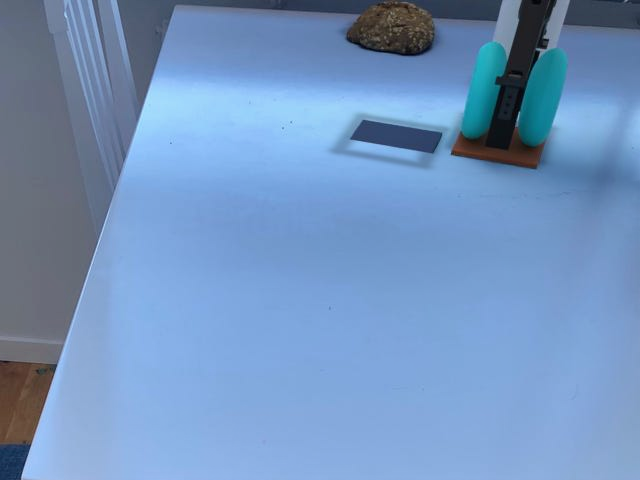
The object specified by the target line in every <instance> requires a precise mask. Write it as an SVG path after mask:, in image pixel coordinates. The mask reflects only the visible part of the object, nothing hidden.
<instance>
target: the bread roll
mask: <svg viewBox="0 0 640 480" xmlns="http://www.w3.org/2000/svg"><path fill="white" fill-rule="evenodd" d="M432 16H433V15H432V14H431V12H429V11H428V10H425V9H423V8H421V7H420V6H418V5H416V4H414V3H411V2H407V1H397V0H387V1H381V2H380V1H379V2H378V3H376V5H375V4H373V5H372V6H370V7H368V8H367V9H366V10H365V11H363V12H362V13H360V15H359V16H358V18H356V20H355V22H353V23H352V25H351V26H350V27H349V28H348V29H347V30H346V33H345V35H346V39H348V40H349V41H350V42H351V43H354V44H360V45H361V46H363V47H365V48H367V49H372V50H374V51H383V52H392V53H396V54H400V55H415V54H419V53H421V52H423V51H425V50H426V49H427V48H428V47H430V46H431V45H433V43H434V41H435V37H436V36H435V35H436V34H435V33H436V31H435V29H436V27H435V23H434V20H433V18H432Z"/></svg>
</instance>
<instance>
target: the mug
mask: <svg viewBox="0 0 640 480" xmlns="http://www.w3.org/2000/svg"><path fill="white" fill-rule="evenodd" d="M521 1H522V0H502V2H501V4H500V8H499V14H498V16H497V21H496V25H495V29H494V33H493V37H492V41H494V42H498V43H500V44H501V45H502V46H503V47H504V49H505V51H506V55H507V61H508V57H509V54H510V50H511V47H512V43H513V40H514V36H515V33H516V29H517V26H518V22H519V19H518V12H519V8H520V4H521ZM570 2H571V0H557V2H556V5H555V7H554V8H553V11H552V14H551V18H550V20H549V22H548V24H547V27H546V30H547V32H546V35H544V38H546V39H549V43H548V46H547V49H539V48H536V50H538V51H540V55H539V58H540V57H541V55H543V54H544V53H545V52H546V51H548V50H550V49H553V48H557V45H558V43H559V39H560V36H561V32H562V28H563V25H564V23H565V18H566V15H567V12H568V9H569V6H570ZM539 58H538V59H539Z"/></svg>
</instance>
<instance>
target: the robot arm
mask: <svg viewBox="0 0 640 480" xmlns="http://www.w3.org/2000/svg"><path fill="white" fill-rule="evenodd" d="M556 2H557V0H522V1H521V4H520V8H519V12H518V19H519V22H518V26H517V29H516V33H515V36H514V40H513V43H512V47H511V50H510V54H509V57H508V61H507V64H506V68H505V71H504V74H503V75H502V77H501V76H497V77H496V81H495V85H501V86H500V90H499V93H498V97H497V101H496V105H495V109H494V112H493V116H492V120H491V124H490V128H489V131H488V135H487V139H486V143H485V147H491V148H497V149H503V150H509V147H510V143H511V140H512V136H513V132H514V129H515V126H516V125H517V123H518V119H519V115H520V110H521V105H522V102H523V97H524V94H525V90H526V87H527V83H528V80H529V77H530V74H531V71H532V69H533V67H534V65H535V63H536V62H537V60H538V58H539V55H540V51H538V50H536V48H539V49H547V46H548V43H549V39H546V38H544V35H546V32H547V30H546V27H547V24H548V22H549V20H550V18H551V14H552V11H553V8H554V7H555V5H556Z"/></svg>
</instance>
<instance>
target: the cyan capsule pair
mask: <svg viewBox="0 0 640 480" xmlns="http://www.w3.org/2000/svg"><path fill="white" fill-rule="evenodd" d="M568 59H569V58H568V55H567V53H566V51H564V50H563V49H562V48H558V47H556V48H553V49H550V50H548V51H546V52H545V53H544V54H543V55H541V57H540V58H539V59H538V60H537V62H536V63H535V65H534V67H533V69H532V71H531V74H530V77H529V80H528V83H527V87H526V90H525V94H524V97H523V102H522V105H521V110H520V112H519V115H518V119H517V127H518V132H519V136H520V138H521V140H522V142H523V143H524V144H525V145H527V146H530V147H534V146H538V145H540V144H541V143H542V142H543V141H544V140H545V139H546V140H547V138H548V136H549V135H550V131H551V129H552V127H553V124H554V120H555V118H556V116H557V115H556V114H557V111H558V109H559V105H560V101H561V98H562V94H563V90H564V87H565V82H566V78H567V71H568V64H569V60H568ZM506 64H507V55H506V51H505V49H504V47H503V46H502V45H501V44H500V43H498V42H494V41H493V40H492V41H489V42H486V43H485V44H484V45H482V46H481V47H480V49H479V50H478V53H477V55H476V59H475V63H474V67H473V71H472V76H471V80H470V83H469V88H468V92H467V96H466V101H465V105H464V110H463V115H462V118H461V123H460V132H461V131H462V133H463V135H464V136H465V137H466V138H468V139H477V138H479V137H481V136H482V135H483V134H485V133H486V132H487V130H488V129H489V128H490V124H491V120H492V116H493V112H494V109H495V105H496V101H497V97H498V93H499V90H500V86H501V85H495V81H496V77H497V76H501V77H502V75H503V74H504V71H505V68H506ZM546 140H545V141H546Z"/></svg>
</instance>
